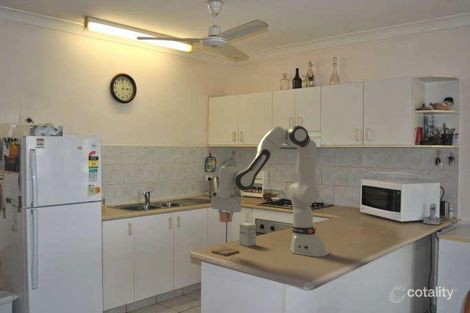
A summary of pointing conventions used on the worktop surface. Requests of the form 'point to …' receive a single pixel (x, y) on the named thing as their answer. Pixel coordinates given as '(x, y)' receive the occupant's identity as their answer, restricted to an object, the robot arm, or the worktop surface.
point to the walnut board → (225, 251)
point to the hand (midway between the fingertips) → (225, 218)
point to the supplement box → (247, 234)
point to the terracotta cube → (225, 217)
